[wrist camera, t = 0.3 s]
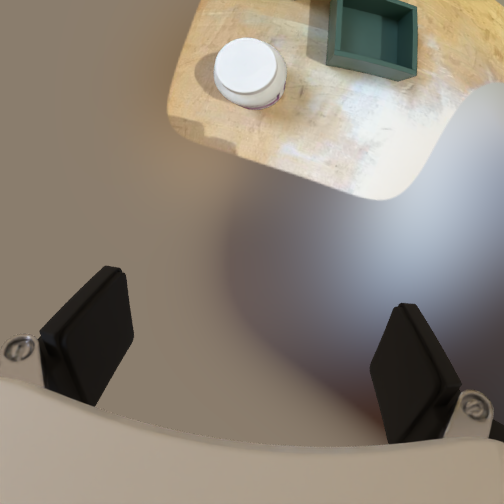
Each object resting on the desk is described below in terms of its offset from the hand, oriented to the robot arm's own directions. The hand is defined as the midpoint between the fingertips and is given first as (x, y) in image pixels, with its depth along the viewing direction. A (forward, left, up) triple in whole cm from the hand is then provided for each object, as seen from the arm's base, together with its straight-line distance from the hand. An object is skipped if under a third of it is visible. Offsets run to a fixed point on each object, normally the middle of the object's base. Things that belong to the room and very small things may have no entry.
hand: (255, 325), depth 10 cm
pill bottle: (-10, -2, -21) cm, 24 cm away
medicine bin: (-17, +8, -21) cm, 28 cm away
